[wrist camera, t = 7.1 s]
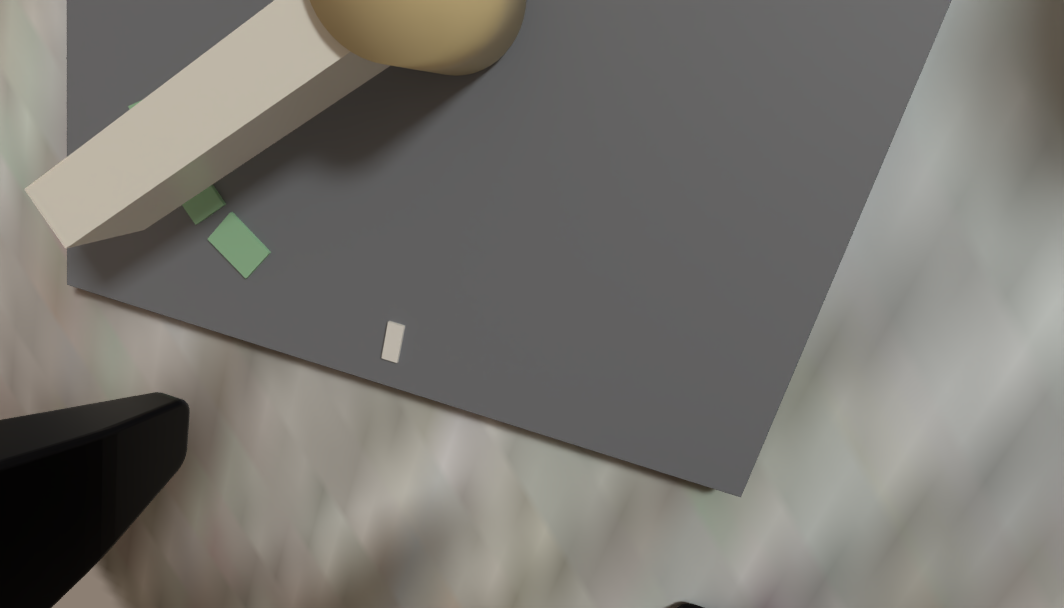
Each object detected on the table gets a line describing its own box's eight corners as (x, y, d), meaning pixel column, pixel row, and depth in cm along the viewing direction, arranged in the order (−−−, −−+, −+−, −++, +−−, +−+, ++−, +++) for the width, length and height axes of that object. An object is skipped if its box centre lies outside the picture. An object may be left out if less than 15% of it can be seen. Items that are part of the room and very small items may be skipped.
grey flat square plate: (736, 478, 19) (741, 499, 18) (93, 276, 21) (64, 285, 20) (1132, -474, 12) (1178, -530, 11) (104, -637, 14) (60, -698, 13)
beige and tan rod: (479, -120, 15) (419, -199, 11) (553, 26, 15) (520, -1, 12) (122, 143, 18) (-15, 151, 14) (194, 252, 19) (79, 288, 15)
